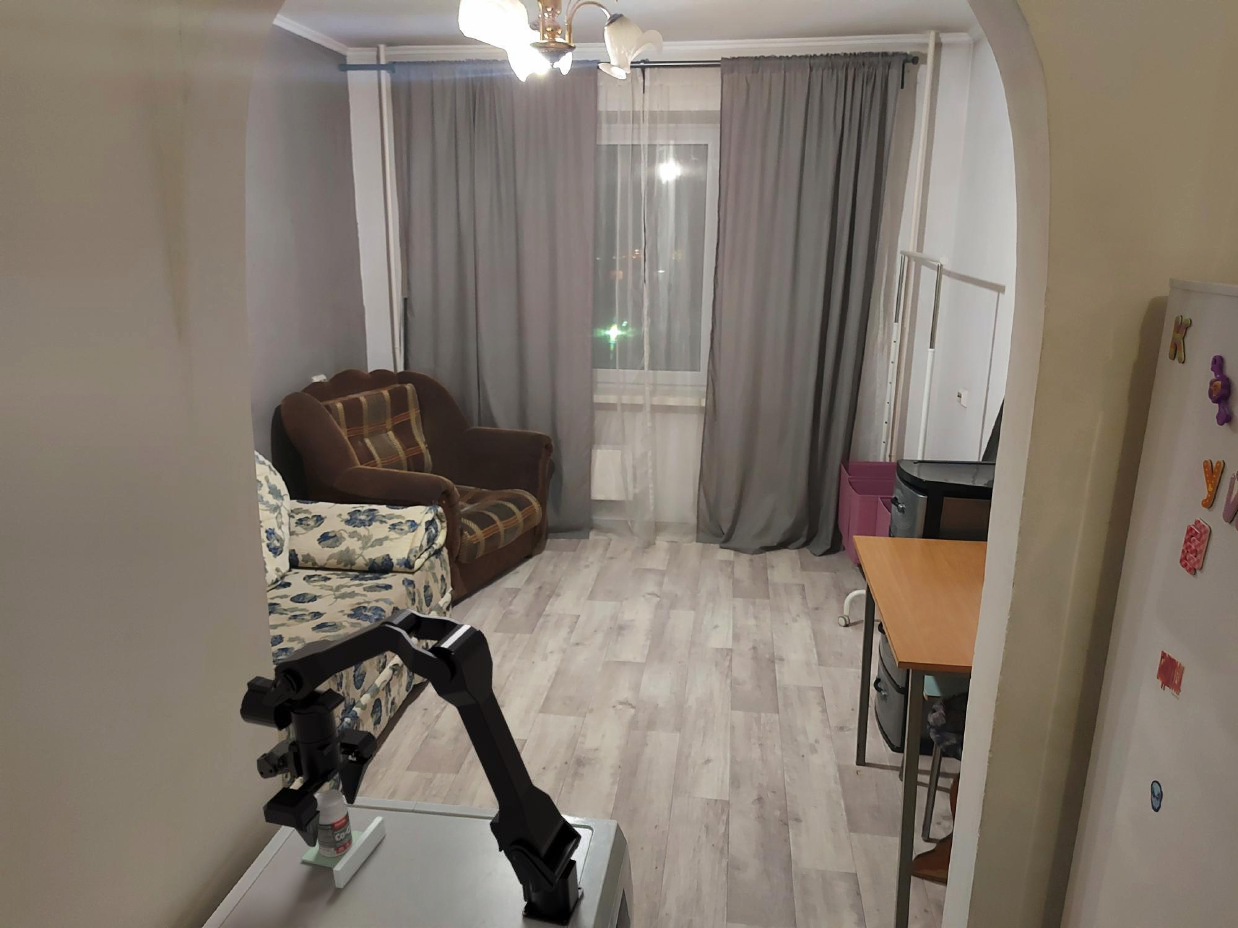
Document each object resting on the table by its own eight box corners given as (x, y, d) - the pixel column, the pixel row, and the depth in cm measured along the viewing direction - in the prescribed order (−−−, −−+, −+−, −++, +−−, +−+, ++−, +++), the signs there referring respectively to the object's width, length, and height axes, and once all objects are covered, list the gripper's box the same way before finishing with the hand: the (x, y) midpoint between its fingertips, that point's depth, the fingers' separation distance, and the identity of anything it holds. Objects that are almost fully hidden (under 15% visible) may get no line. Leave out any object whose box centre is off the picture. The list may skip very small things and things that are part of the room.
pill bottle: (342, 859, 123) (334, 810, 120) (313, 855, 124) (304, 807, 121) (359, 836, 127) (351, 789, 125) (330, 833, 128) (322, 785, 126)
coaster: (370, 836, 128) (370, 833, 128) (342, 869, 121) (342, 867, 121) (331, 828, 130) (330, 825, 130) (301, 860, 124) (301, 858, 123)
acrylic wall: (386, 833, 128) (383, 817, 127) (342, 888, 118) (339, 870, 117) (380, 832, 128) (377, 816, 127) (336, 886, 118) (332, 869, 117)
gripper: (309, 689, 131) (324, 775, 135) (220, 763, 114) (241, 859, 118) (372, 698, 127) (385, 786, 132) (290, 775, 110) (309, 874, 115)
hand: (332, 823), depth 124 cm, fingers open, 9 cm apart
